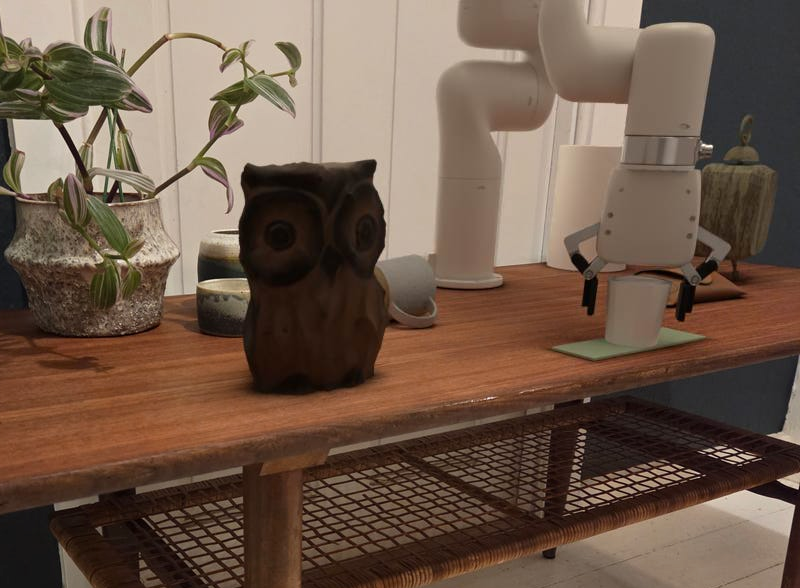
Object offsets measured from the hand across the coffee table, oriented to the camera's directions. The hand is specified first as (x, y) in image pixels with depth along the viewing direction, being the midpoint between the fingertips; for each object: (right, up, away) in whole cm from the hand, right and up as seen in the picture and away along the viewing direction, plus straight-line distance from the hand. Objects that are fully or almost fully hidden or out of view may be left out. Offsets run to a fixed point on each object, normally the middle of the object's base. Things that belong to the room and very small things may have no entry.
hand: (634, 316), depth 99 cm
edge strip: (0, -3, +1) cm, 3 cm away
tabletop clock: (+31, +14, +46) cm, 57 cm away
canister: (+12, +19, +57) cm, 62 cm away
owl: (-37, -8, -13) cm, 40 cm away
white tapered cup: (0, -3, +1) cm, 3 cm away
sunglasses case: (+18, +8, +29) cm, 35 cm away
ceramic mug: (-25, +1, +12) cm, 28 cm away
